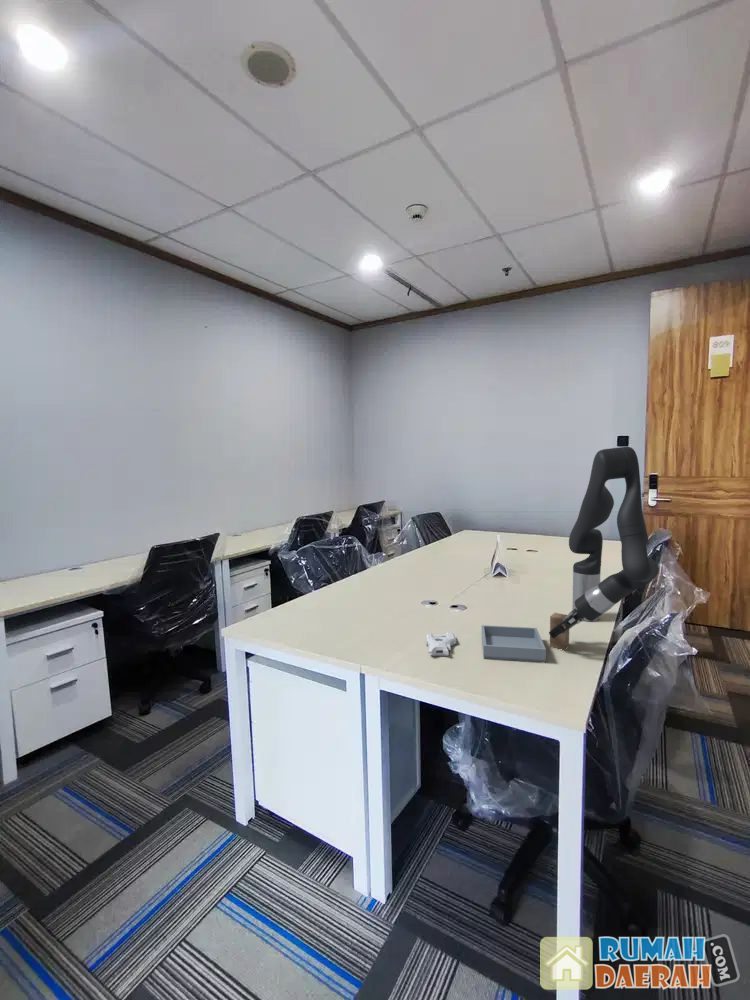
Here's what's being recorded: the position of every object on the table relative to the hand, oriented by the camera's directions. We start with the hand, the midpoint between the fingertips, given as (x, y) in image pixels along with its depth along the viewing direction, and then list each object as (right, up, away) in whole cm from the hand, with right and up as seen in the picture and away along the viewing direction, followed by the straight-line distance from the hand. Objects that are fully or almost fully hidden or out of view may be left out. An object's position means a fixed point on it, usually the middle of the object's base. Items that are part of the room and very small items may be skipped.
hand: (555, 631), depth 145 cm
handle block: (+1, -5, 0) cm, 5 cm away
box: (-14, -5, -1) cm, 15 cm away
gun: (-36, -6, +2) cm, 36 cm away
